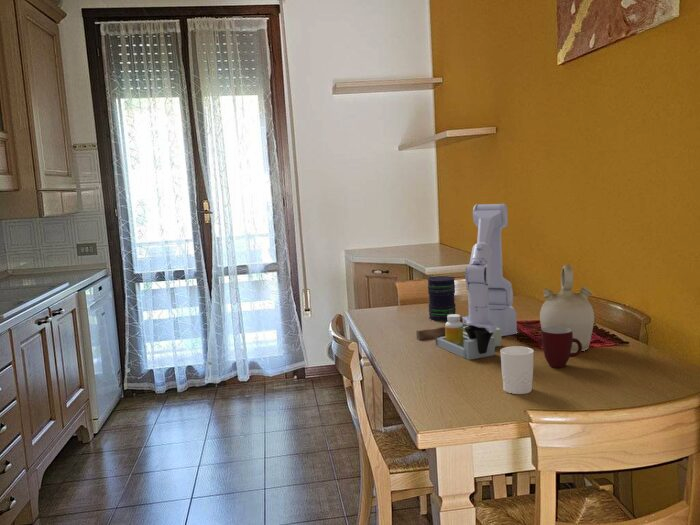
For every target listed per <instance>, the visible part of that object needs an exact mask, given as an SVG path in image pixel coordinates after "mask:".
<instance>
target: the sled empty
mask: <svg viewBox="0 0 700 525" xmlns="http://www.w3.org/2000/svg"><path fill="white" fill-rule="evenodd" d="M468 326H469V325H468ZM468 326H466V327H468ZM463 335H465V336H468V334H467V332H466V331H465V327H463ZM468 337H469V336H468ZM491 337H494V338H495V348H496V347H502V336H501V329H499V328H497V332H494V333H493V334H492V336H491Z"/></svg>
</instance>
